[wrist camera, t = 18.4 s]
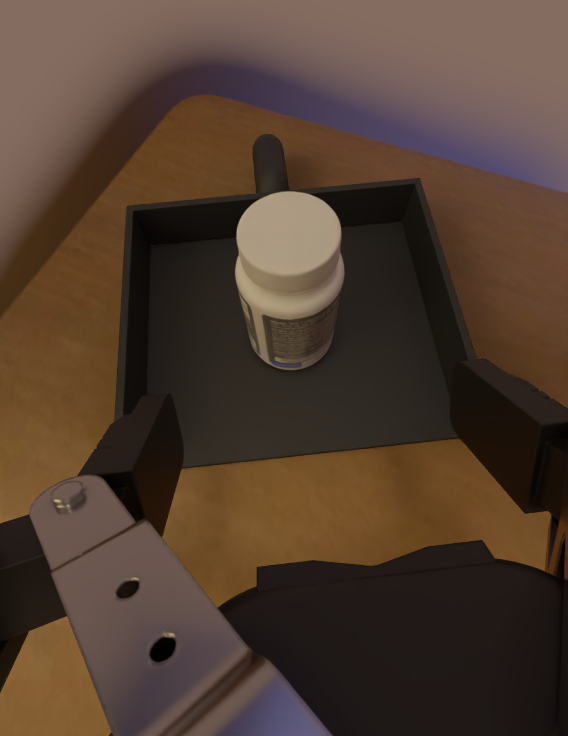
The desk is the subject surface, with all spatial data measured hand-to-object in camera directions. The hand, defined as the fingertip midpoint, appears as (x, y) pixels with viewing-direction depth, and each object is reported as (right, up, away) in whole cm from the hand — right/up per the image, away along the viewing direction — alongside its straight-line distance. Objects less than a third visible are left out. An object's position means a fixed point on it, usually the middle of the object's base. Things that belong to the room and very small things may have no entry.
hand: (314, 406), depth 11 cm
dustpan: (-1, +6, +13) cm, 14 cm away
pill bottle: (0, +3, +11) cm, 12 cm away
